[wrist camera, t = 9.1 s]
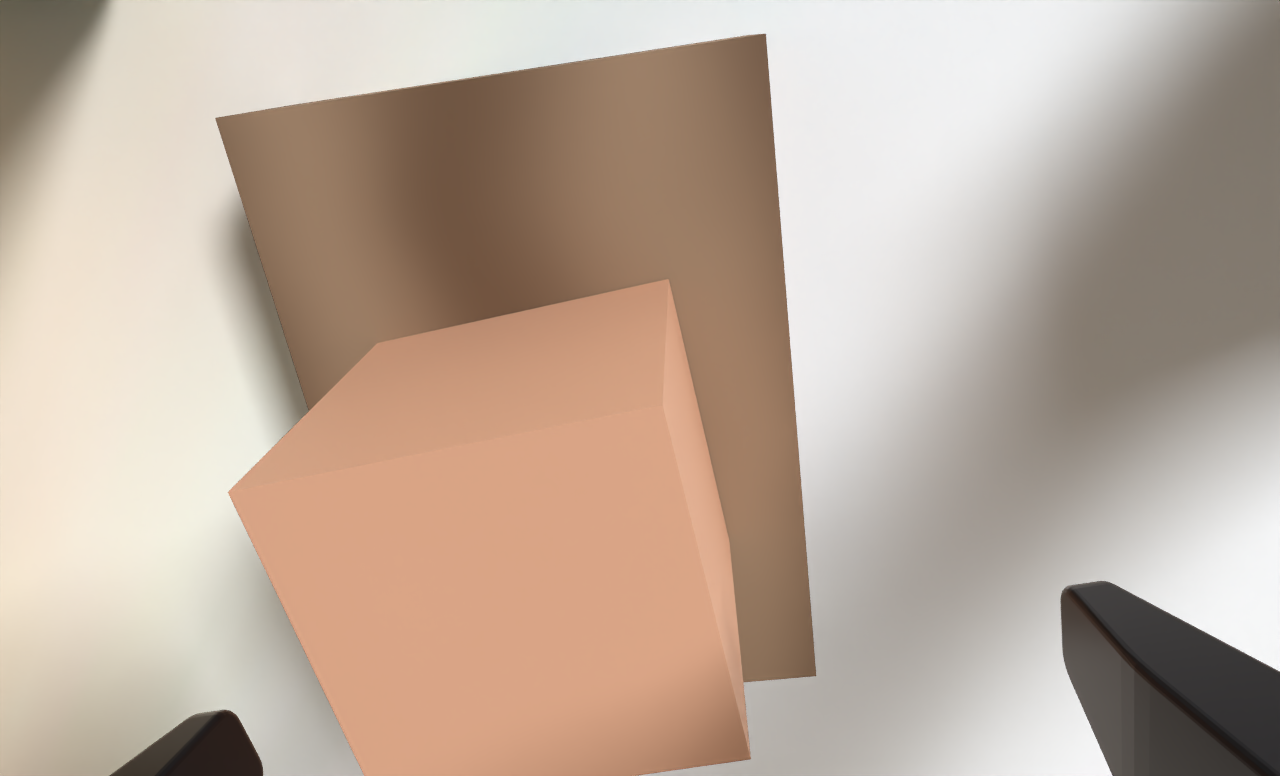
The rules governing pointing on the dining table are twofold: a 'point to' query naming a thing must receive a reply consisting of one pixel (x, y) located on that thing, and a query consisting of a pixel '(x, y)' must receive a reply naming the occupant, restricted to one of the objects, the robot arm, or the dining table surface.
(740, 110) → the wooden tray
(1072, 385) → the dining table surface
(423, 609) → the terracotta cube
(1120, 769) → the robot arm
